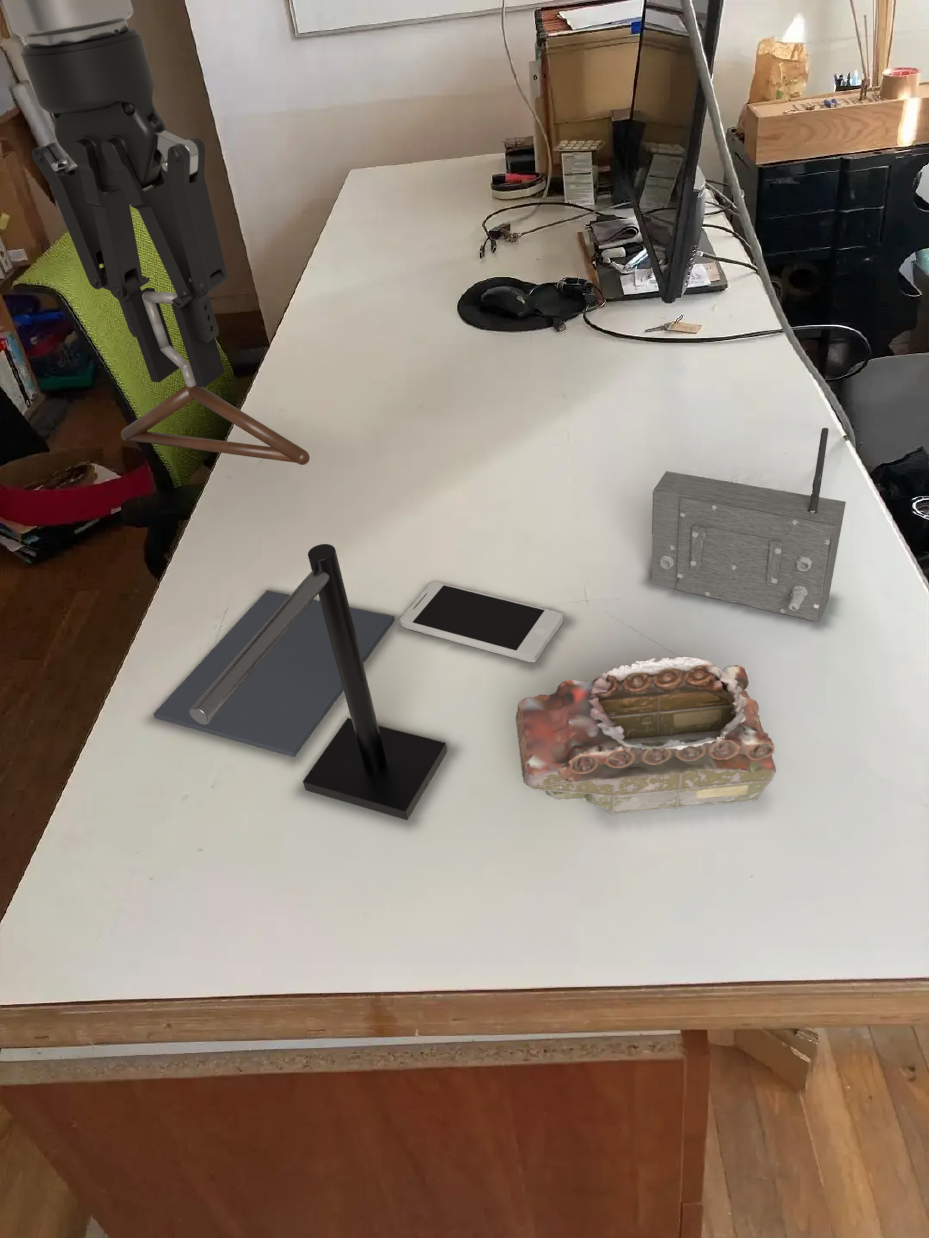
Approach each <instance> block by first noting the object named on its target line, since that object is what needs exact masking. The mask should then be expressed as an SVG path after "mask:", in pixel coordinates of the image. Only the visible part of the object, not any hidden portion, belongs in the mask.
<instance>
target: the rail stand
mask: <svg viewBox="0 0 929 1238" xmlns="http://www.w3.org/2000/svg"><path fill="white" fill-rule="evenodd" d="M307 558H308V562H309V565H310V569H311V571H310V572H309V573H308V575H307V576H305V578H304V579H303V580H302V582H301V583H300V584H298V586H297V587H296V588H295V589H294V591H292V593H291V594H289V595H290V596H289V597H288V598H287V600H286V601H285V602H284V603H283V604H282V605H281V606H280V608H279V609H278V610H277V611H276V612H275V613H274V614H273V615H272V617H271V618H270V619H269V620H268V621H267V622H266V623H265V625H264V626H263V627H262V628H261V629H260V630H259V631H258V632H257V634H256V635H255V636H254V637H253V638H252V639H251V640H250V641H249V643H248V644H247V645H246V646H245V647H244V648H243V649H242V651H241V652H240V653H239V654H238V655H237V656H236V657H235V658H234V660H233V661H232V662H231V663H230V664H229V665H228V666H227V667H226V669H225V670H224V671H223V672H222V673H221V674H220V675H219V677H218V678H217V679H216V680H215V681H214V682H213V683H212V684H211V686H210V687H209V688H208V689H207V690H206V691H205V692H204V693H203V695H202V696H201V697H200V698H199V699H198V700H197V701H196V703H195V704H194V705H193V706H192V707H191V708H190V710H189V713H190V715H191V717H192V718H193V719H194V720H195V721H197V722H198V723H201V724H208V723H209V721H210V720H211V719H212V718H213V717H214V716H215V714H216V713H217V712H218V711H219V710H220V709H221V707H222V706H223V705H224V704H225V703H226V701H227V700H228V699H229V698H230V697H231V696H232V694H233V693H234V692H235V691H236V690H237V689H238V687H239V686H240V685H241V684H242V683H243V682H244V680H245V679H246V678H247V677H248V676H249V674H250V673H251V672H252V671H253V670H254V669H255V667H256V666H257V665H258V664H259V663H260V662H261V660H262V659H263V658H264V657H265V656H266V655H267V653H268V652H269V651H270V650H271V649H272V648H273V646H274V645H275V644H276V643H277V642H278V640H279V639H280V638H281V637H282V636H283V635H284V633H285V632H286V631H287V630H288V629H289V628H290V626H291V625H292V624H293V623H294V622H295V621H296V619H297V618H298V617H299V616H300V615H301V613H302V612H303V611H304V610H305V609H306V608H307V606H308V605H309V604H310V603H311V602H312V601H313V600H315V598H316V597H317V596H318V599H319V601H320V603H321V607H322V610H323V614H324V618H325V622H326V625H327V629H328V633H329V637H330V640H331V644H332V648H333V652H334V656H335V659H336V663H337V667H338V671H339V674H340V678H341V682H342V686H343V689H344V690H343V692H344V697H345V700H346V704H347V708H348V711H349V716H350V717H347V718H346V719H345V721H344V722H343V724H342V725H341V727H340V728H338V731H337V732H336V734H335V735H334V737H333V738H332V739H331V741H330V742H329V744H328V745H327V746H326V748H325V749H324V750H323V752H322V753H321V755H320V756H319V758H318V759H317V761H316V762H315V763H314V765H313V766H312V767H311V769H310V770H309V772H308V773H307V775H306V776H305V777H304V779H303V780H302V784H303V787H304V790H305V791H307V792H310V793H313V794H317V795H320V796H323V797H328V798H330V799H334V800H338V801H341V802H344V803H347V804H350V805H354V806H358V807H361V808H364V809H368V810H371V811H375V812H377V813H381V814H384V815H388V816H392V817H395V818H398V819H401V820H404V821H405V820H406V821H408V820H409V818H410V816H412V813H413V811H414V810H415V808H416V806H417V805H418V803H419V801H420V799H421V798H422V796H423V794H424V793H425V791H426V789H427V787H428V786H429V784H430V782H431V781H432V779H433V777H434V775H435V773H436V772H437V770H438V769H439V767H440V765H441V763H442V762H443V760H444V758H445V757H446V755H447V753H448V748H447V743H446V742H444V741H440V740H437V739H433V738H428V737H425V736H420V735H417V734H413V733H409V732H405V731H401V730H397V729H393V728H390V727H386V726H381V725H379V723H378V719H377V716H376V711H375V709H374V708H375V707H374V703H373V699H372V694H371V690H370V687H369V682H368V678H367V673H366V670H365V665H364V663H363V661H362V657H361V653H360V649H359V645H358V641H357V636H356V632H355V628H354V624H353V620H352V616H351V612H350V608H349V607H350V604H349V599H348V595H347V592H346V591H347V590H346V587H345V583H344V579H343V575H342V571H341V570H342V569H341V567H340V566H341V565H340V563H339V559H338V554H337V550H336V547H335V546H333V544H330V543H320V544H317V545H315V546H312V547H311V548H310V549H309V550H308V552H307Z"/></svg>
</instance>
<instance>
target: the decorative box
mask: <svg viewBox="0 0 929 1238" xmlns="http://www.w3.org/2000/svg"><path fill="white" fill-rule="evenodd" d="M656 660H657V658H650V659H648V660H646V661H645V660H640V661H639V660H636V661H635V662H634V663H631V665H630V666H629V664H625V665H620V666H619V667H614V668H613V669H611V670H610V669H609V670H608V671H607V672H606V673H605V672H602V673H601V676H598V677H595V678H594V679H593V680H591V681H590V680H587V681H582V680H576V679H568V680H563V681H562V682H561V683H559V684H558V685H557V689H556V691H555V692H553V693H550V694H538V695H535V696H528V697H524V698H522V699H521V700H519V701H518V703H517V712H516V714H515V723H516V724H515V725H516V732H517V740H518V749H519V757H520V764H521V765H520V767H521V776H522V781H523V783H524V784H525V785H526V786H527V787H528V788H529V789H532V790H538V791H543V792H545V794H546V795H547V796H548V797H550V798H553V800H559V801H560V800H565V801H566V800H573V799H582V798H585V800H586V802H588V803H589V804H590V805H592V806H593V807H598V808H601V809H603V810H605V811H607V812H608V813H609V814H611V815H615V814H626V813H636V812H645V811H654V810H662V809H663V810H665V809H678V808H687V807H698V806H711V805H724V804H733V803H744V802H757V801H758V800H759V798H760V796H761V795H762V793H763V792H764V791H765V789H766V788H767V787H768V785H770V783H771V782H772V781H773V778H774V777H775V775H776V773H777V768H776V764H775V762H774V758H773V754H774V753H775V746H774V745H775V743H773V739H772V738H771V737H769V733H767V732H765V731H764V729H763V726H762V723H761V720H760V715H759V709H760V706H759V703H758V702H757V700H755V699H752V698H750V695H749V694H748V692H747V690H746V689H747V688H748V687H749V684H750V681H749V676H748V674H747V672H746V669H745V667H744V666H742V665H741V664H735V665H734V664H733V665H727V666H725V667H723V668H722V669H721V668H720V667H718V666H715V664H714V663H713V662H712V661H710V660H706V659H702V658H698V657H689V656H683V657H682V656H681V657H680V656H677V657H674V658H673V659H672V658H670V657H666V658H665V657H662V658H661V659H660V660H659V661H656Z"/></svg>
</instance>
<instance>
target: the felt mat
mask: <svg viewBox="0 0 929 1238" xmlns="http://www.w3.org/2000/svg"><path fill="white" fill-rule="evenodd" d="M290 595H291V594H287V593H281V592H278V591H271V590H265V592H264V593H263V594H262V595H261V596H260V597H259V598H258V599H257V600H256V602H255V603H253V604H252V606H250V608H249V609H248V610H246V612H245V614H243V616H242V617H241V618H240V619H239V620H238V621H237V622H236V623H235V624H234V625H233V627H232V628H231V629H230V630H229V631H228V632H227V633H226V634H225V635H224V636H223V637H222V638H221V640H219V641H218V643H217V644H216V645H215V646H214V647H213V648H212V649H211V650H210V652H209V653H208V654H207V655H206V656H205V657H204V658H203V659H202V660H201V661H200V662H199V664H198V665H196V667H194V669H193V670H192V671H191V672H190V673H189V674H188V676H186V678H185V679H183V680H182V682H181V683H180V684H179V686H177V687H176V688H175V690H174V691H173V692H172V693H171V694H170V695H168V697H167V698H166V699H165V701H163V703H161V705H160V706H159V707H158V708H157V709H156V710H155V711H154V712H153V716H154V717H153V718H154V719H157V720H160V721H164V722H168V723H171V724H174V725H179V726H182V727H184V728H185V727H186V728H189V729H193V730H196V731H200V732H203V733H207V734H210V735H214V736H218V737H220V738H225V739H229V740H232V741H235V742H238V743H241V744H242V743H243V744H245V745H249V746H253V747H257V748H261V749H264V750H267V751H271V752H274V753H278V754H281V755H285V756H289V757H292V758H296V756H297V754H298V753H299V752H300V750H301V749H302V747H303V746H304V744H306V742H307V741H308V740H309V738H310V737H311V735H312V734H313V733H314V731H315V730H316V729H317V727H318V726H319V724H320V723H321V721H322V720H323V719H324V718H325V716H326V715H327V713H328V712H329V711H330V710H331V708H332V706H333V705H334V704H335V703H336V701H337V700H338V699H339V697H340V696H341V694H342V693H343V692H344V689H343V686H342V682H341V678H340V674H339V671H338V667H337V663H336V659H335V656H334V652H333V648H332V644H331V640H330V637H329V633H328V629H327V625H326V622H325V618H324V614H323V610H322V607H321V603H320V600H316V599H313V601H312V602H311V603H310V604H309V605H308V606H307V608H306V609H305V610H304V611H303V612H302V613H301V615H300V616H299V617H298V618H297V619H296V621H295V622H294V623H293V624H292V625H291V626H290V628H289V629H288V630H287V631H286V632H285V633H284V635H283V636H282V637H281V638H280V639H279V640H278V642H277V643H276V644H275V645H274V646H273V648H272V649H271V650H270V651H269V652H268V653H267V655H266V656H265V657H264V658H263V659H262V660H261V662H260V663H259V664H258V665H257V666H256V667H255V669H254V670H253V671H252V672H251V673H250V674H249V676H248V677H247V678H246V679H245V680H244V682H243V683H242V684H241V685H240V686H239V687H238V689H237V690H236V691H235V692H234V693H233V694H232V696H231V697H230V698H229V699H228V700H227V701H226V703H225V704H224V705H223V706H222V707H221V709H220V710H219V711H218V712H217V713H216V714H215V716H214V717H213V718H212V719H211V720H210V721H209V723H208V724H201V723H198V722H197V721H195V720H194V719H193V718H192V717H191V715H190V713H189V710H190V708H191V707H192V706H193V705H194V704H195V703H196V701H197V700H198V699H199V698H200V697H201V696H202V695H203V693H204V692H205V691H206V690H207V689H208V688H209V687H210V686H211V684H212V683H213V682H214V681H215V680H216V679H217V678H218V677H219V675H220V674H221V673H222V672H223V671H224V670H225V669H226V667H227V666H228V665H229V664H230V663H231V662H232V661H233V660H234V658H235V657H236V656H237V655H238V654H239V653H240V652H241V651H242V649H243V648H244V647H245V646H246V645H247V644H248V643H249V641H250V640H251V639H252V638H253V637H254V636H255V635H256V634H257V632H258V631H259V630H260V629H261V628H262V627H263V626H264V625H265V623H266V622H267V621H268V620H269V619H270V618H271V617H272V615H273V614H274V613H275V612H276V611H277V610H278V609H279V608H280V606H281V605H282V604H283V603H284V602H285V601H286V600H287V598H288V597H289V596H290ZM349 608H350V612H351V616H352V620H353V624H354V628H355V632H356V636H357V641H358V645H359V649H360V653H361V657H362V661H363V664H364V663H365V662H366V661H367V659H368V658H369V656H370V655H371V654H372V652H373V651H374V650H375V648H376V647H377V645H378V644H379V643H380V641H381V640H382V639H383V637H384V636H385V635H386V633H387V632H388V630H389V629H390V627H391V626H393V624H394V622H395V621H396V619H395V616H394V615H390V614H385V613H380V612H376V611H372V610H371V611H370V610H366V609H361V608H357V607H351V606H349Z"/></svg>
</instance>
